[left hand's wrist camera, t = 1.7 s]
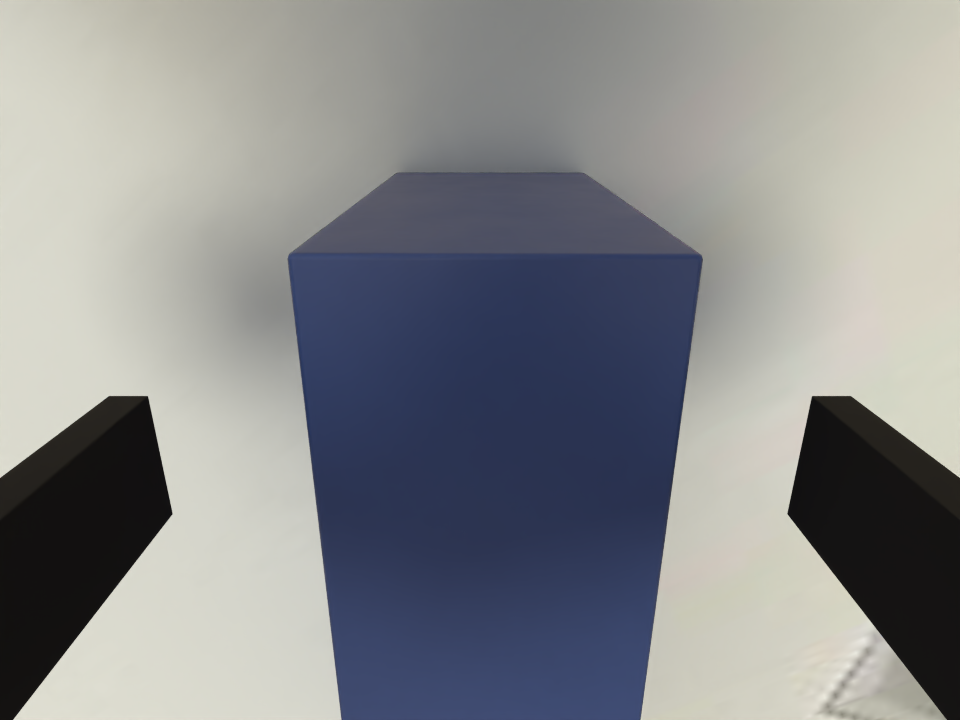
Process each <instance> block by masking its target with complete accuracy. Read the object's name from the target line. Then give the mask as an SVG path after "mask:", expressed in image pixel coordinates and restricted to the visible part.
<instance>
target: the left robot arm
mask: <svg viewBox="0 0 960 720" xmlns="http://www.w3.org/2000/svg"><path fill="white" fill-rule="evenodd" d="M171 515H172V509H171V504H170V499H169V495H168V490H167V485H166V480H165V475H164V471H163V466H162V461H161V456H160V452H159V447H158V442H157V437H156V433H155V428H154V423H153V418H152V413H151V409H150V404H149V399H148V396H109V397H107V398H106V399H105V400H103V401H102V402H101V403H99V404H98V405H97V406H95V407H94V408H93V409H91V410H90V411H89V412H87V413H86V414H85V415H83V416H82V417H81V418H79V419H78V420H77V421H75V422H74V423H73V424H71V425H70V426H69V427H67V428H66V429H65V430H63V431H62V432H61V433H59V434H58V435H57V436H56V437H54V438H53V439H52V440H50V441H49V442H48V443H46V444H45V445H44V446H42V447H41V448H40V449H38V450H37V451H36V452H34V453H33V454H32V455H30V456H29V457H28V458H26V459H25V460H24V461H22V462H21V463H20V464H18V465H17V466H16V467H14V468H13V469H12V470H10V471H9V472H8V473H6V474H5V475H4V476H2V477H1V478H0V720H13V719H14V718H15V717H16V715H17V714H18V713H19V711H20V710H21V709H22V707H23V706H24V705H25V704H26V702H27V701H28V700H29V698H30V697H31V696H32V695H33V693H34V692H35V691H36V689H37V688H38V687H39V686H40V684H41V683H42V682H43V680H44V679H45V678H46V677H47V675H48V674H49V673H50V671H51V670H52V669H53V668H54V666H55V665H56V664H57V662H58V661H59V660H60V658H61V657H62V656H63V655H64V653H65V652H66V651H67V649H68V648H69V647H70V646H71V644H72V643H73V642H74V640H75V639H76V638H77V637H78V635H79V634H80V633H81V631H82V630H83V629H84V628H85V626H86V625H87V624H88V622H89V621H90V620H91V619H92V617H93V616H94V615H95V613H96V612H97V611H98V609H99V608H100V607H101V606H102V604H103V603H104V602H105V600H106V599H107V598H108V597H109V595H110V594H111V593H112V591H113V590H114V589H115V588H116V586H117V585H118V584H119V582H120V581H121V580H122V579H123V577H124V576H125V575H126V573H127V572H128V571H129V570H130V568H131V567H132V566H133V564H134V563H135V562H136V560H137V559H138V558H139V557H140V555H141V554H142V553H143V551H144V550H145V549H146V548H147V546H148V545H149V544H150V542H151V541H152V540H153V539H154V537H155V536H156V535H157V533H158V532H159V531H160V530H161V528H162V527H163V526H164V524H165V523H166V522H167V521H168V519H169V518H170V517H171ZM788 515H789V517H790V518H791V519H792V521H793V522H794V523H795V524H796V526H797V527H798V528H799V530H800V531H801V532H802V533H803V535H804V536H805V537H806V539H807V540H808V541H809V542H810V544H811V545H812V546H813V548H814V549H815V550H816V551H817V553H818V554H819V555H820V557H821V558H822V559H823V560H824V562H825V563H826V564H827V566H828V567H829V568H830V570H831V571H832V572H833V573H834V575H835V576H836V577H837V579H838V580H839V581H840V582H841V584H842V585H843V586H844V588H845V589H846V590H847V591H848V593H849V594H850V595H851V597H852V598H853V599H854V600H855V602H856V603H857V604H858V606H859V607H860V608H861V609H862V611H863V612H864V613H865V615H866V616H867V617H868V619H869V620H870V621H871V622H872V624H873V625H874V626H875V628H876V629H877V630H878V631H879V633H880V634H881V635H882V637H883V638H884V639H885V640H886V642H887V643H888V644H889V646H890V647H891V648H892V649H893V651H894V652H895V653H896V655H897V656H898V657H899V658H900V660H901V661H902V662H903V664H904V665H905V666H906V668H907V669H908V670H909V671H910V673H911V674H912V675H913V677H914V678H915V679H916V680H917V682H918V683H919V684H920V686H921V687H922V688H923V689H924V691H925V692H926V693H927V695H928V696H929V697H930V698H931V700H932V701H933V702H934V704H935V705H936V706H937V707H938V709H939V710H940V711H941V713H942V714H943V715H944V717H945V718H946V719H947V720H960V478H959V477H958V476H956V475H955V474H954V473H952V472H951V471H950V470H948V469H947V468H946V467H944V466H943V465H942V464H940V463H939V462H938V461H936V460H935V459H934V458H932V457H931V456H930V455H928V454H927V453H926V452H924V451H923V450H922V449H920V448H919V447H918V446H916V445H915V444H914V443H912V442H911V441H910V440H908V439H907V438H906V437H904V436H903V435H902V434H901V433H899V432H898V431H897V430H895V429H894V428H893V427H891V426H890V425H889V424H887V423H886V422H885V421H883V420H882V419H881V418H879V417H878V416H877V415H875V414H874V413H873V412H871V411H870V410H869V409H867V408H866V407H865V406H863V405H862V404H861V403H859V402H858V401H857V400H855V399H854V398H853V397H851V396H812V399H811V404H810V409H809V413H808V418H807V423H806V428H805V433H804V437H803V442H802V447H801V452H800V456H799V461H798V466H797V471H796V475H795V480H794V485H793V490H792V495H791V499H790V504H789V509H788Z"/></svg>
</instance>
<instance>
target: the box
mask: <svg viewBox="0 0 960 720" xmlns="http://www.w3.org/2000/svg"><path fill="white" fill-rule="evenodd" d="M702 261H703V259H702V255H701V254H699V253H698V252H696V251H695V250H693V249H692V248H691V247H689V246H688V245H686V244H685V243H683V242H682V241H681V240H679V239H678V238H676V237H675V236H673V235H672V234H671V233H669V232H668V231H666V230H665V229H663V228H662V227H660V226H659V225H658V224H656V223H655V222H653V221H652V220H650V219H649V218H648V217H646V216H645V215H643V214H642V213H640V212H639V211H638V210H636V209H635V208H633V207H632V206H630V205H629V204H628V203H626V202H625V201H623V200H622V199H620V198H619V197H618V196H616V195H615V194H613V193H612V192H610V191H609V190H608V189H606V188H605V187H603V186H602V185H600V184H599V183H597V182H596V181H595V180H593V179H592V178H590V177H589V176H587V175H586V174H584V173H396V174H394V175H393V176H392V177H390V178H389V179H388V180H387V181H385V182H384V183H383V184H381V185H380V186H379V187H377V188H376V189H375V190H373V191H372V192H371V193H369V194H368V195H367V196H365V197H364V198H363V199H361V200H360V201H359V202H357V203H356V204H355V205H353V206H352V207H351V208H349V209H348V210H347V211H346V212H344V213H343V214H342V215H340V216H339V217H338V218H336V219H335V220H334V221H332V222H331V223H330V224H328V225H327V226H326V227H324V228H323V229H322V230H320V231H319V232H318V233H316V234H315V235H314V236H312V237H311V238H310V239H308V240H307V241H306V242H304V243H303V244H302V245H301V246H299V247H298V248H297V249H295V250H294V251H293V252H291V253H290V254H289V256H288V266H289V275H290V283H291V292H292V300H293V309H294V317H295V326H296V334H297V343H298V352H299V360H300V369H301V377H302V386H303V394H304V403H305V411H306V420H307V428H308V437H309V445H310V454H311V463H312V471H313V480H314V488H315V497H316V505H317V514H318V522H319V531H320V539H321V548H322V556H323V565H324V574H325V582H326V591H327V599H328V608H329V616H330V625H331V633H332V642H333V650H334V659H335V667H336V676H337V685H338V693H339V702H340V710H341V719H342V720H640V719H641V711H642V704H643V696H644V689H645V682H646V674H647V667H648V659H649V652H650V645H651V637H652V630H653V623H654V615H655V608H656V600H657V593H658V586H659V578H660V571H661V564H662V556H663V549H664V541H665V534H666V527H667V519H668V512H669V505H670V497H671V490H672V482H673V475H674V468H675V460H676V453H677V445H678V438H679V431H680V423H681V416H682V409H683V401H684V394H685V386H686V379H687V372H688V364H689V357H690V350H691V342H692V335H693V327H694V320H695V313H696V305H697V298H698V291H699V283H700V276H701V268H702Z"/></svg>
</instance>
